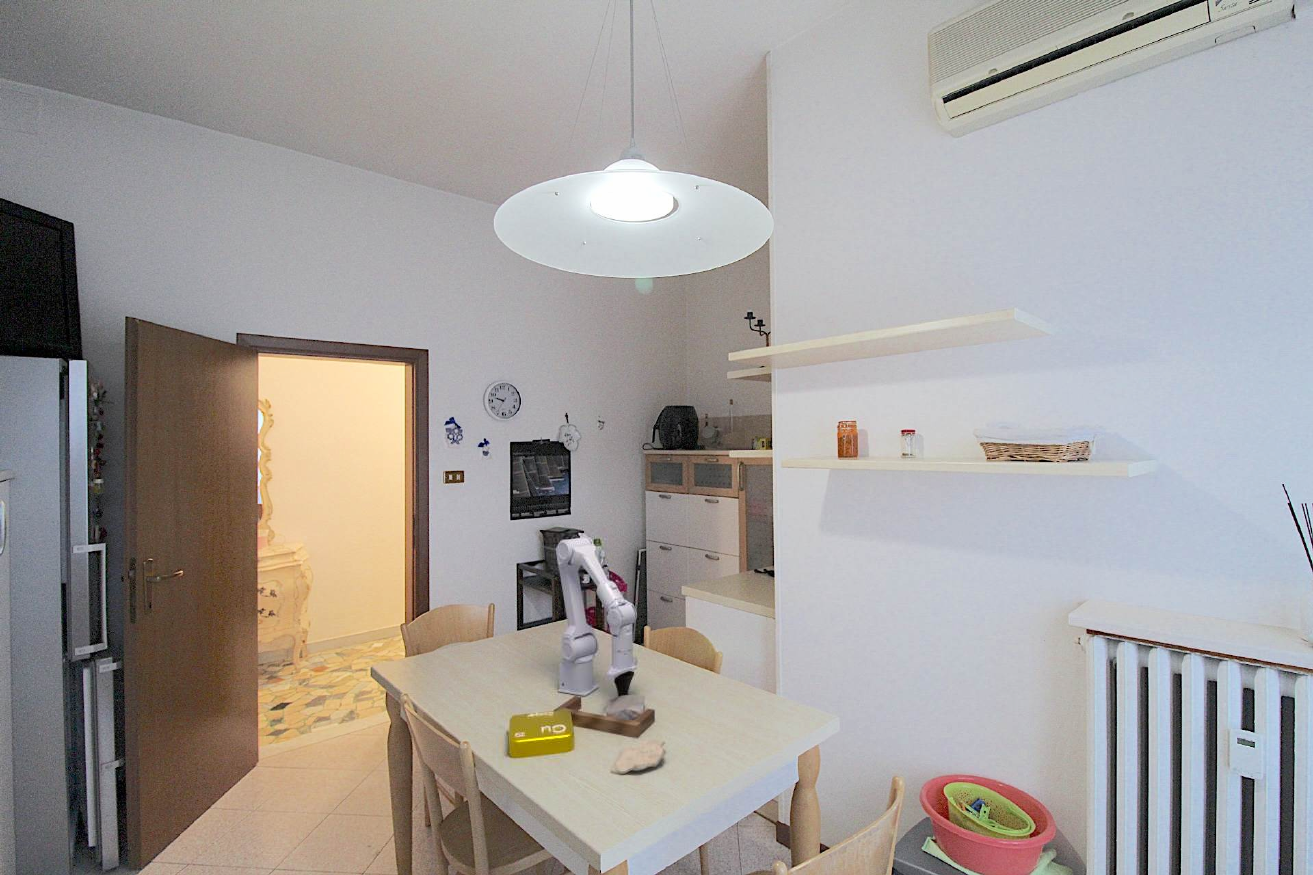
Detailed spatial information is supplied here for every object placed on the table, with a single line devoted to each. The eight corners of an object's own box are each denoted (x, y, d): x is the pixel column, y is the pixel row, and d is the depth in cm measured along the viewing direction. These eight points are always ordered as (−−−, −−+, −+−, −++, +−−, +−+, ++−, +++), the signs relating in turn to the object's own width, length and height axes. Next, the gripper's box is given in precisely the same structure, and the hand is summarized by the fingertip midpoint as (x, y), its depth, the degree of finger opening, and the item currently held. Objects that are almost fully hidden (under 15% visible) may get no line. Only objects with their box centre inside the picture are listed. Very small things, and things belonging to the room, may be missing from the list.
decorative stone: (646, 744, 148) (599, 775, 137) (643, 728, 148) (596, 758, 137) (680, 752, 141) (634, 785, 130) (677, 735, 141) (630, 767, 130)
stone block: (608, 733, 157) (647, 724, 157) (604, 714, 157) (643, 705, 157) (610, 715, 169) (646, 706, 169) (606, 697, 169) (642, 689, 169)
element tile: (570, 725, 159) (570, 706, 159) (575, 753, 144) (574, 732, 144) (510, 732, 156) (509, 712, 156) (508, 761, 141) (508, 739, 141)
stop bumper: (554, 721, 160) (553, 709, 160) (575, 706, 169) (574, 695, 169) (637, 738, 150) (637, 725, 150) (654, 721, 159) (654, 709, 159)
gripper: (622, 659, 162) (623, 711, 161) (646, 642, 175) (647, 691, 174) (599, 655, 164) (599, 707, 164) (624, 640, 178) (625, 687, 177)
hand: (622, 699), depth 170 cm, fingers closed, pressing on stone block
